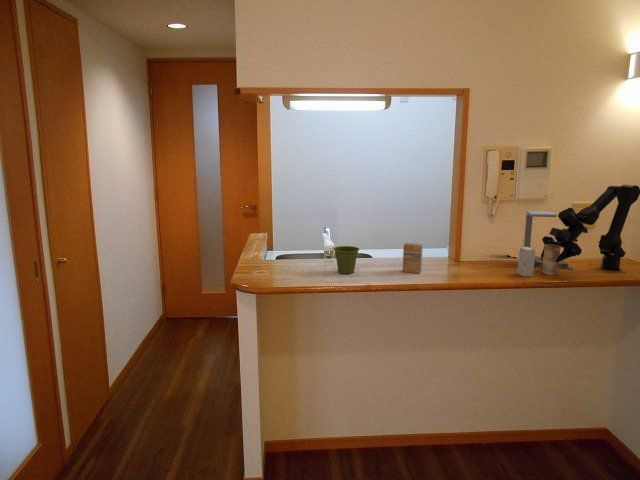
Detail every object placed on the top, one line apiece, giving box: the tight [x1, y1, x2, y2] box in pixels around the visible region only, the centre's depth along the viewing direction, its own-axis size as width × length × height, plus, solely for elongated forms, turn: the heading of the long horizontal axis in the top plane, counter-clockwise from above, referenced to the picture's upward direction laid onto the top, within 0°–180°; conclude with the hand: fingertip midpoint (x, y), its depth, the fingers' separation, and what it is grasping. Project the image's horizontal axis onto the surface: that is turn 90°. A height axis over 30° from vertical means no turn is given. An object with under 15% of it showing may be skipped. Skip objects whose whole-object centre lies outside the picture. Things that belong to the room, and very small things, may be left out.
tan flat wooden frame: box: [534, 255, 575, 271], centre depth 219 cm, size 18×16×2 cm
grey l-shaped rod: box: [523, 210, 557, 248], centre depth 219 cm, size 12×12×25 cm
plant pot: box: [332, 245, 360, 275], centre depth 206 cm, size 12×12×11 cm
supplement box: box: [402, 242, 424, 274], centre depth 207 cm, size 8×5×13 cm, turn 70°
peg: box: [541, 244, 562, 276], centre depth 202 cm, size 5×5×13 cm
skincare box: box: [516, 246, 537, 277], centre depth 200 cm, size 6×4×12 cm
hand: (548, 259), depth 202 cm, fingers open, 9 cm apart
